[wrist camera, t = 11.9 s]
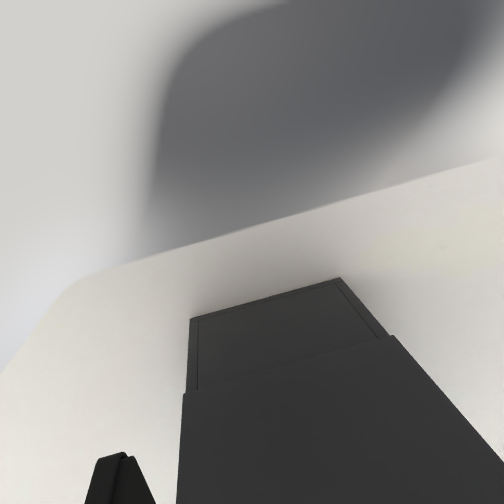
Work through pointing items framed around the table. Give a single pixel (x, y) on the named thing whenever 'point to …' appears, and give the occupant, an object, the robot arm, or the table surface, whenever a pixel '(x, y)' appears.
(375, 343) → the lid
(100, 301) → the table surface
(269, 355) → the dark grey open box
